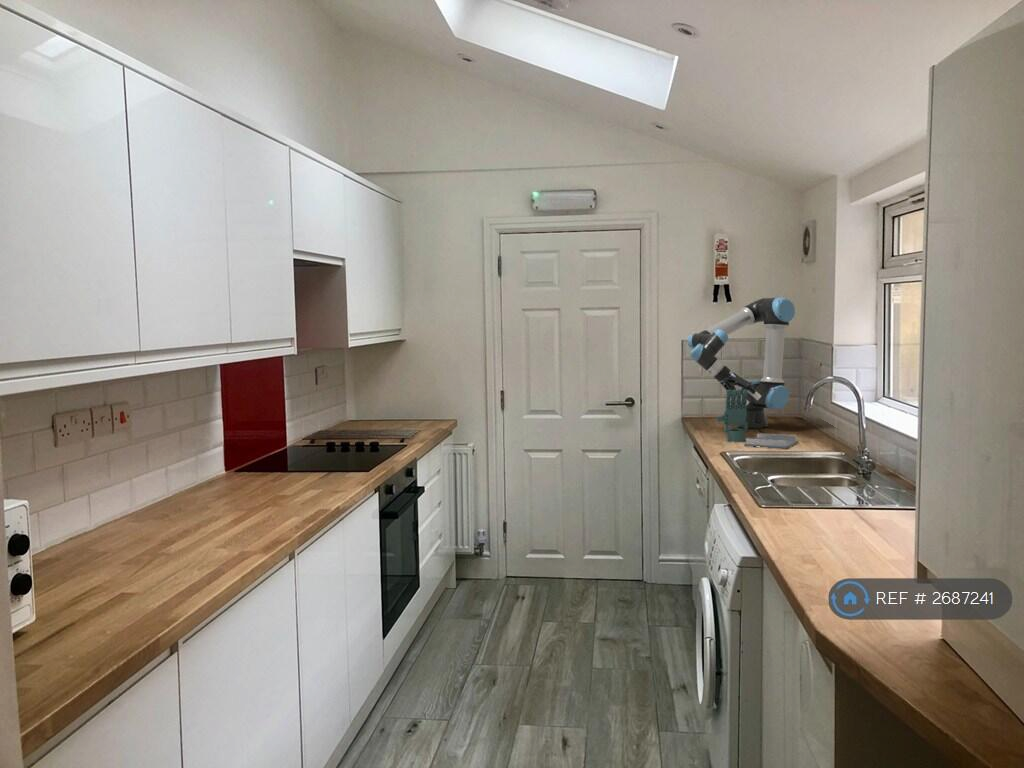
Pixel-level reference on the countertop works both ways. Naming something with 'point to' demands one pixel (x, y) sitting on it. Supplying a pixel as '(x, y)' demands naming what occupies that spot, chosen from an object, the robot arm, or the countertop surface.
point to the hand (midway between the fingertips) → (753, 401)
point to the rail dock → (772, 440)
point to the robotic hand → (735, 415)
